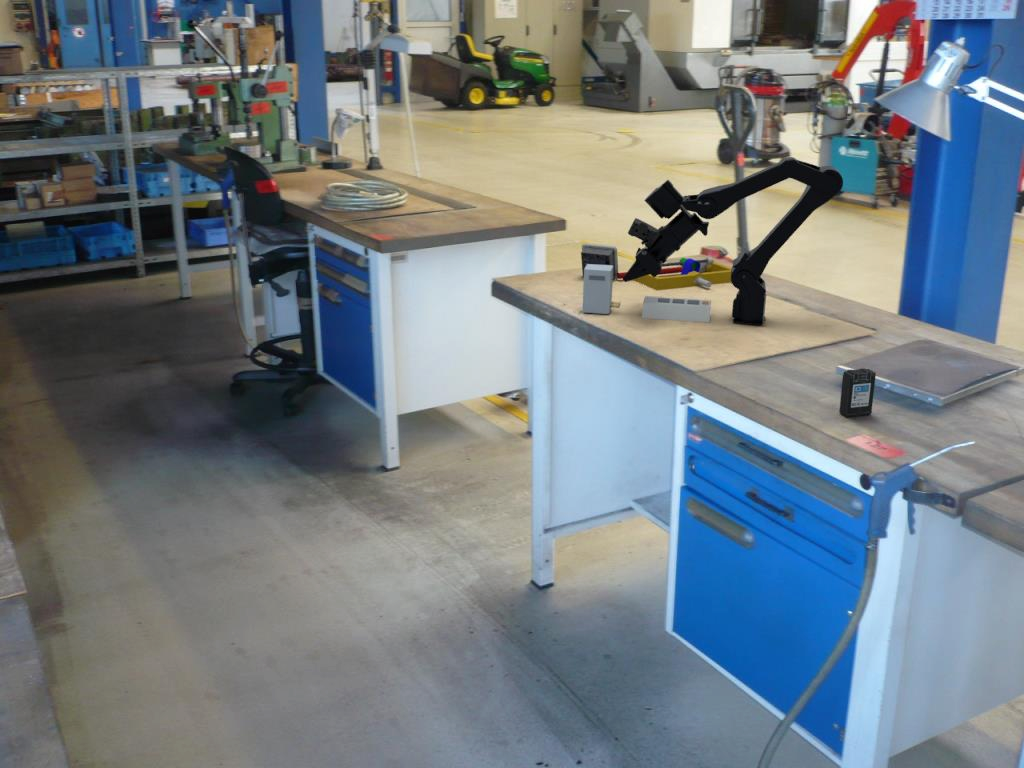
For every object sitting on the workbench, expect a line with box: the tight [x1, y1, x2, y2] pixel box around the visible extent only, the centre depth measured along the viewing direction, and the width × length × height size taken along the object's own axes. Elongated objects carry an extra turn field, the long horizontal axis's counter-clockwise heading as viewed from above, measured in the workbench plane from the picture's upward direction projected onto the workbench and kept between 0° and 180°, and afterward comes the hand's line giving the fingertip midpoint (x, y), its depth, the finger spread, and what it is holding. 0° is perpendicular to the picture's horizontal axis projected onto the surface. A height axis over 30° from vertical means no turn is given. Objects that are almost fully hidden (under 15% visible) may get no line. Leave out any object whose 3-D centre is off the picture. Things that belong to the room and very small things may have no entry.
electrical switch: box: [580, 242, 619, 280], centre depth 273 cm, size 9×5×9 cm, turn 65°
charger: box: [582, 264, 622, 315], centre depth 243 cm, size 8×6×10 cm
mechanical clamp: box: [617, 257, 732, 291], centre depth 272 cm, size 18×6×30 cm
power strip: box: [641, 295, 712, 323], centre depth 246 cm, size 15×17×4 cm
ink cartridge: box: [839, 368, 877, 419], centre depth 183 cm, size 5×2×8 cm, turn 105°
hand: (624, 280), depth 242 cm, fingers closed
